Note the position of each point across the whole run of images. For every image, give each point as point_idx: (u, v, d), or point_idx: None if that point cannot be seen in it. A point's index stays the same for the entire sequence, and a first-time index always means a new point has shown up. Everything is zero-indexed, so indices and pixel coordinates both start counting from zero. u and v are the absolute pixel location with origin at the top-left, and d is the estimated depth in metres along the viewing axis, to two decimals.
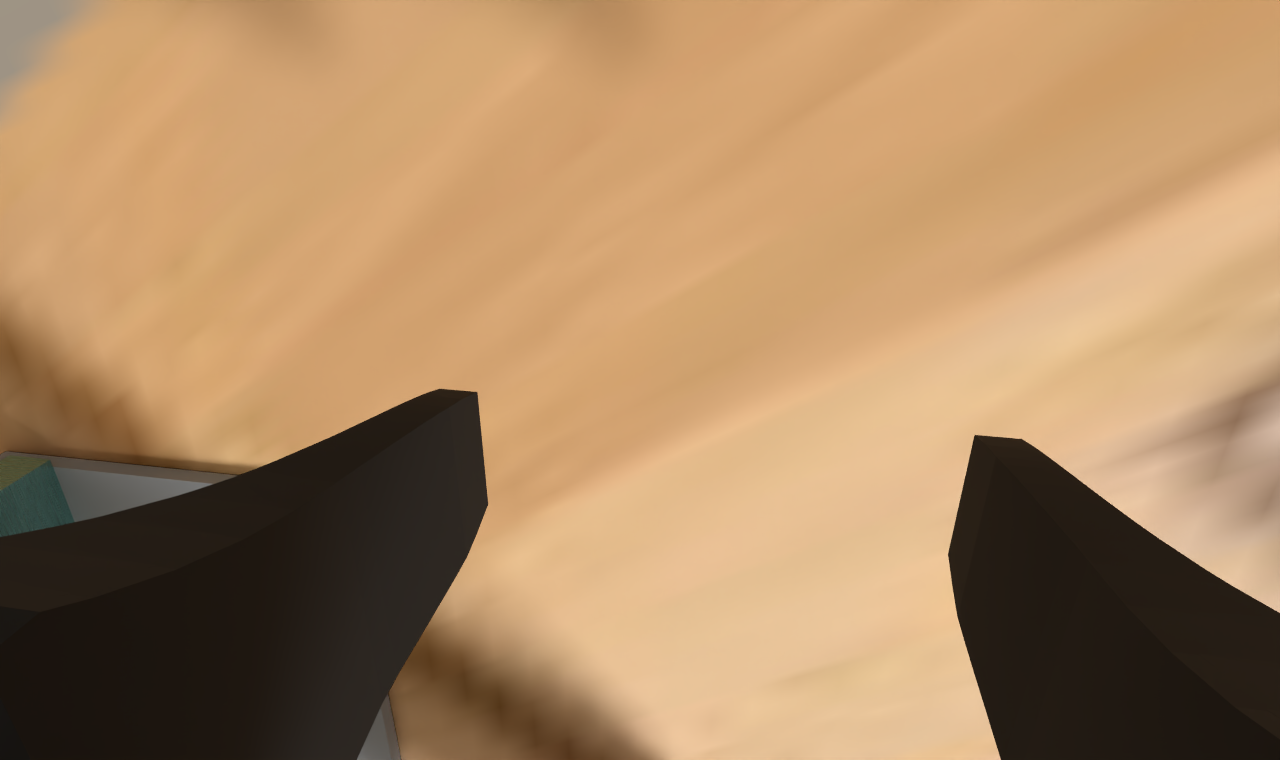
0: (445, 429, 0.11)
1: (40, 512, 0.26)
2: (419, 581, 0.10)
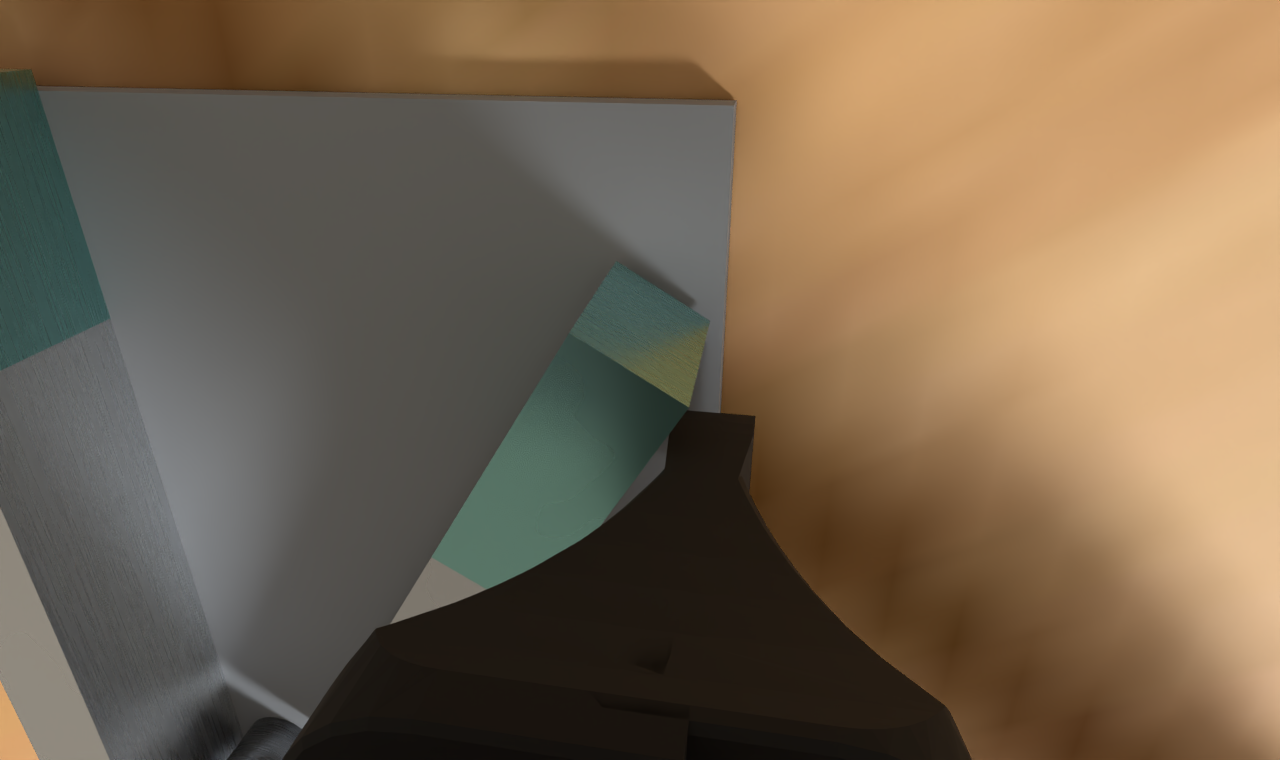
0: (750, 458, 0.10)
1: (7, 182, 0.12)
2: None
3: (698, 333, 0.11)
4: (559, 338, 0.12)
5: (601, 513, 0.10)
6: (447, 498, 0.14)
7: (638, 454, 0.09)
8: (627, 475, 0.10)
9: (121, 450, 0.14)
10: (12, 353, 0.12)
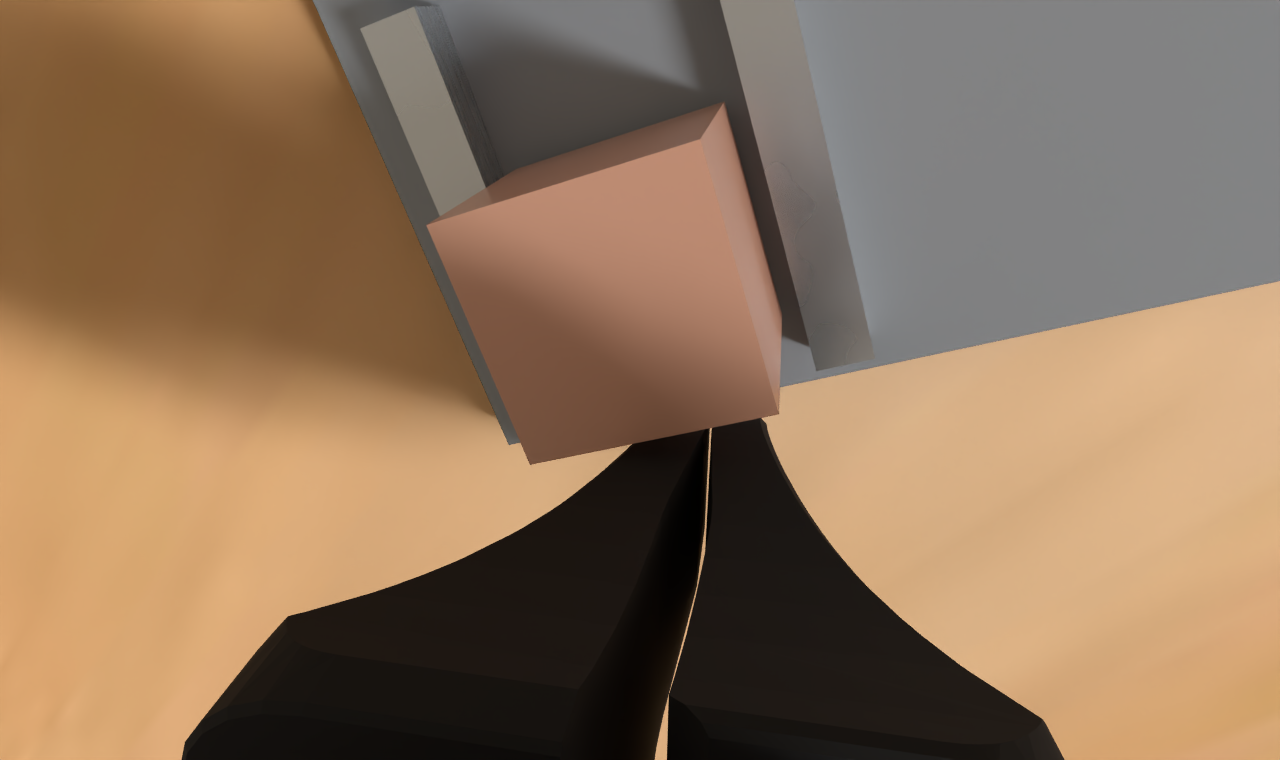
0: (701, 453, 0.10)
1: None
2: (679, 613, 0.10)
3: None
4: None
5: None
6: None
7: None
8: None
9: None
10: None
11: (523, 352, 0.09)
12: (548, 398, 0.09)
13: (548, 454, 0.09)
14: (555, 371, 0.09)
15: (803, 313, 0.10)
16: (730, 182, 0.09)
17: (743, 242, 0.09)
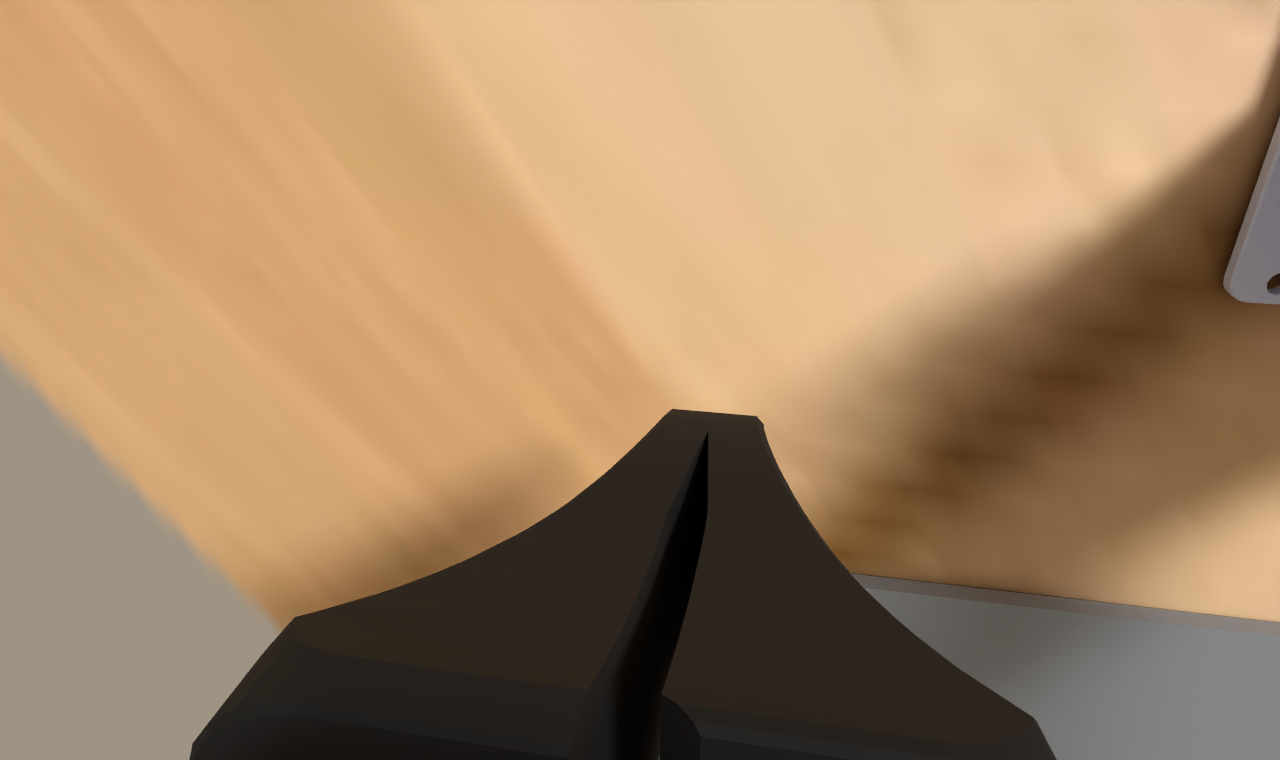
0: (704, 453, 0.10)
1: None
2: (683, 613, 0.10)
3: None
4: None
5: None
6: None
7: None
8: None
9: None
10: None
11: None
12: None
13: None
14: None
15: None
16: None
17: None
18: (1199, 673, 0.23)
